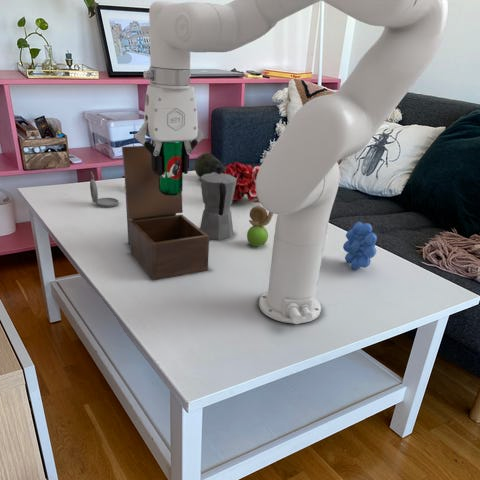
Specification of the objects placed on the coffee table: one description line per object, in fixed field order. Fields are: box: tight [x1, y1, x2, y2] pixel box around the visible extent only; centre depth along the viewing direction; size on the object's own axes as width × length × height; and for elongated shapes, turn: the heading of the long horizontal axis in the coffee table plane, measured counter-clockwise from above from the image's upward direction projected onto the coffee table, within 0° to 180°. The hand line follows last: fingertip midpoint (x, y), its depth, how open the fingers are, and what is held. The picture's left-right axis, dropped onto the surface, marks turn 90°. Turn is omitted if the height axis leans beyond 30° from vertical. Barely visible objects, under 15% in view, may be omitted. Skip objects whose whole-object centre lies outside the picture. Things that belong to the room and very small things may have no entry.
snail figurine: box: [246, 205, 274, 247], centre depth 123 cm, size 5×6×12 cm
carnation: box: [194, 152, 262, 203], centre depth 159 cm, size 16×18×35 cm
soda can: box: [159, 141, 184, 196], centre depth 102 cm, size 5×5×12 cm
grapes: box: [342, 221, 378, 271], centre depth 115 cm, size 12×7×12 cm, turn 19°
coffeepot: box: [199, 166, 237, 241], centre depth 125 cm, size 15×9×18 cm, turn 10°
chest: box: [129, 213, 210, 281], centre depth 112 cm, size 15×13×8 cm
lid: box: [121, 145, 184, 219], centre depth 113 cm, size 16×13×5 cm
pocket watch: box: [89, 170, 119, 208], centre depth 142 cm, size 8×8×10 cm
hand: (170, 172), depth 103 cm, fingers closed on soda can, 5 cm apart
